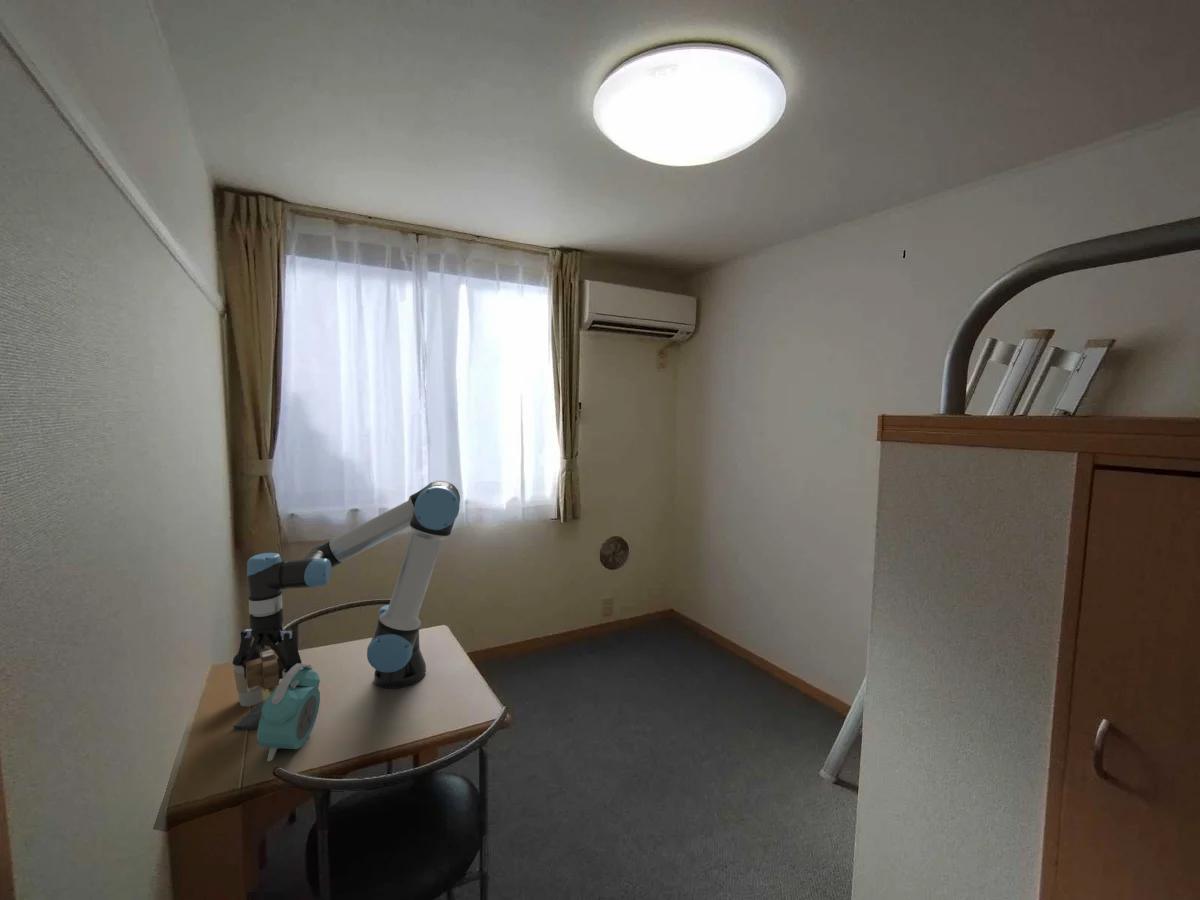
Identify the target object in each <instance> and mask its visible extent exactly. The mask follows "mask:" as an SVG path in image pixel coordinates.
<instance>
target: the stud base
mask: <svg viewBox="0 0 1200 900" xmlns="http://www.w3.org/2000/svg"><path fill="white" fill-rule="evenodd" d="M278 686H279V685H278ZM278 686H275V687H272V688H268V689H265V688H263V687H262V694H263V701H262V702H261V703H259V704H257V705H255V707H254V708H252V709H251V710H250V711H249V712H248V713H247V714H246V715H244V717H243V716H242V718H241V719H239V721H237V722H236V723H235V724H234V725H233V727H232V728H233V730H255V731H256V730H257V731H258V726H259V721H260V718H261V715H262V711H261V709H262V707H263V705H264V703H265V701H266V699H267V698H268V697H269V696H270V695H272V693H273V692H274V691H275V689H276V688H278Z"/></svg>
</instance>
